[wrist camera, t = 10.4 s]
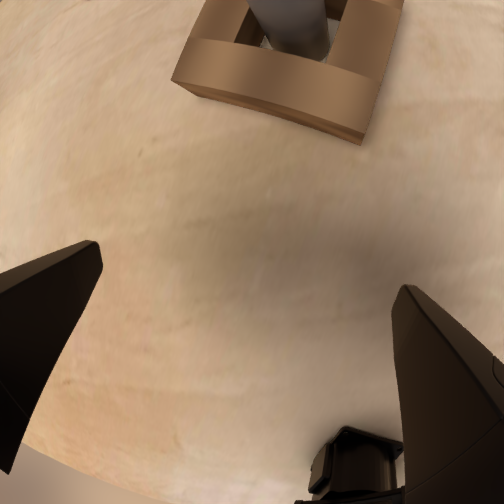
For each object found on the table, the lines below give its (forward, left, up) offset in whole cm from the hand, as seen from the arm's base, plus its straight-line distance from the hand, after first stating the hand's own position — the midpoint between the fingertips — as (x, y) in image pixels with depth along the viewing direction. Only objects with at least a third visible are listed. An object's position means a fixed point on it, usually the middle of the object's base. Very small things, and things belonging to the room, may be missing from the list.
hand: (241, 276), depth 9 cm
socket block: (+4, -13, -13) cm, 18 cm away
